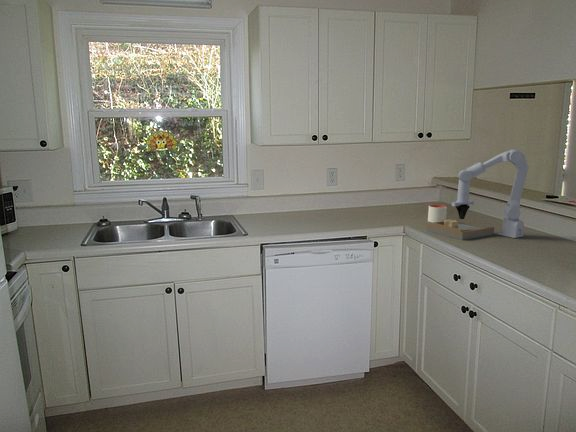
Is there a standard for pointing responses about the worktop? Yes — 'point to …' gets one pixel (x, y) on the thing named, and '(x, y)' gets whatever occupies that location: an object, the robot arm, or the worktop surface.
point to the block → (451, 223)
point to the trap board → (459, 230)
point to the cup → (437, 213)
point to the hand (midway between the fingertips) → (461, 218)
